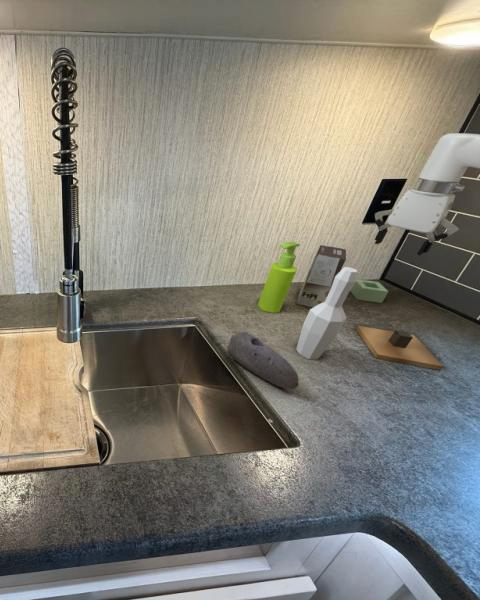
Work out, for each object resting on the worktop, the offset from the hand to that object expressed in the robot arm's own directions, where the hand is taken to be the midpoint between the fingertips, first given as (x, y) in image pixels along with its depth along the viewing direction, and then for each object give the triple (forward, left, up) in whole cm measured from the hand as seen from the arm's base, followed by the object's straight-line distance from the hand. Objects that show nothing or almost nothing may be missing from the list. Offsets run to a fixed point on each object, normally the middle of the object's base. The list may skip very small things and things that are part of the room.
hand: (398, 248), depth 90 cm
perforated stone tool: (+39, +50, -16) cm, 65 cm away
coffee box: (+19, +11, -16) cm, 27 cm away
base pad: (+6, +30, -16) cm, 34 cm away
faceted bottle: (+26, +39, -16) cm, 50 cm away
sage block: (+2, +2, -16) cm, 16 cm away
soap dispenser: (+32, +20, -16) cm, 41 cm away
